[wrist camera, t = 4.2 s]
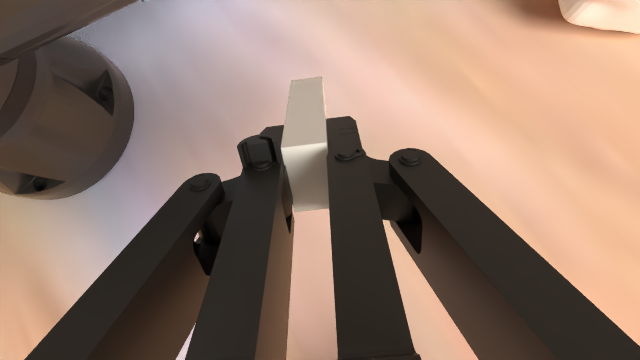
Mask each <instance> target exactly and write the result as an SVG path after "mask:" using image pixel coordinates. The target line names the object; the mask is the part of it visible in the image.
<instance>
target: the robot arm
mask: <svg viewBox="0 0 640 360" xmlns="http://www.w3.org/2000/svg"><path fill="white" fill-rule="evenodd" d="M136 1H138V0H0V192H3V193H6V194H9V195H13V196H18V197H25V198H33V199H41V200H52V199H60V198H65V197H69V196H72V195H75V194H77V193H80V192H82V191H84V190H86V189H87V188H89V187H91V186H92V185H94V184H95V183H97V182H98V181H99V180H100V179H102V178H103V177H104V176H105V175H106V174H107V173H108V172H109V171H110V170H111V169H112V168H113V166H114V165H115V164H116V162H117V161H118V160H119V158H120V157H121V155H122V153H123V152H124V150H125V148H126V145H127V143H128V141H129V138H130V135H131V131H132V127H133V120H134V104H133V97H132V93H131V90H130V87H129V85H128V83H127V81H126V79H125V77H124V75H123V74H122V73H121V71H120V70H119V69H118V68H117V67H116V66H115V65H114V64H113V63H112V62H111V61H109V60H108V59H107V58H105V57H104V56H103V55H101V54H100V53H99V52H97V51H96V50H94V49H93V48H91V47H90V46H88V45H86V44H84V43H82V42H79V41H77V40H74V39H71V38H68V37H65V36H66V35H68V34H70V33H72V32H74V31H76V30H78V29H80V28H82V27H84V26H86V25H88V24H91V23H93V22H95V21H97V20H99V19H101V18H103V17H105V16H107V15H109V14H111V13H113V12H115V11H118V10H120V9H122V8H124V7H126V6H128V5H130V4H132V3H134V2H136ZM148 1H149V0H142V2H144V3H146V2H148ZM237 149H238V152H239V155H240V159H241V162H242V165H243V169H242V173H241V175H240V176H238V177H236V178H233V179H230V180H227V181H223V182H221V179H220V177H219V176H218V175H217V174H213V173H202V174H199V175H195V176H193V177H192V178H190V179H188V180H187V181H185V182H184V183H183V184H182V185H181V186H180V187H179V188H178V189H177V191H176V192H175V193H174V194H173V195H172V196H171V197H170V198H169V199H168V201H167V202H166V203H165V204H164V205H163V206H162V207H161V208H160V209H159V211H158V212H157V213H156V214H155V215H154V216H153V217H152V218H151V219H150V221H149V222H148V223H147V224H146V225H145V226H144V227H143V228H142V229H141V231H140V232H139V233H138V234H137V235H136V236H135V237H134V238H133V239H132V241H131V242H130V243H129V244H128V245H127V246H126V247H125V248H124V249H123V251H122V252H121V253H120V254H119V255H118V256H117V257H116V258H115V259H114V261H113V262H112V263H111V264H110V265H109V266H108V267H107V268H106V269H105V271H104V272H103V273H102V274H101V275H100V276H99V277H98V278H97V279H96V281H95V282H94V283H93V284H92V285H91V286H90V287H89V288H88V289H87V291H86V292H85V293H84V294H83V295H82V296H81V297H80V298H79V299H78V301H77V302H76V303H75V304H74V305H73V306H72V307H71V308H70V309H69V311H68V312H67V313H66V314H65V315H64V316H63V317H62V318H61V319H60V321H59V322H58V323H57V324H56V325H55V326H54V327H53V328H52V329H51V331H50V332H49V333H48V334H47V335H46V336H45V337H44V338H43V339H42V341H41V342H40V343H39V344H38V345H37V346H36V347H35V348H34V349H33V351H32V352H31V353H30V354H29V355H28V356H27V357H26V358H25V359H24V360H175V359H176V358H177V356H178V354H179V352H180V350H181V349H182V347H183V345H184V343H185V341H186V339H187V338H188V336H189V334H190V332H191V330H192V329H193V327H194V325H195V323H196V325H195V328H194V331H193V334H192V338H191V341H190V344H189V348H188V351H187V354H186V358H185V360H286V350H287V334H288V318H289V301H290V285H291V268H292V252H293V236H294V217H293V213H292V204H293V207H294V211H295V212H299V211H308V210H317V209H326V208H329V210H330V227H331V244H332V261H333V278H334V296H335V313H336V330H337V347H338V360H421V357H420V355H419V354H417V353H416V352H415V349H414V346H413V343H412V339H411V335H410V331H409V327H408V323H407V318H406V314H405V310H404V306H403V302H402V298H401V294H400V290H399V286H398V282H397V278H396V274H395V270H394V266H393V262H392V257H391V253H390V249H389V245H388V241H387V237H386V233H385V229H384V225H383V221H382V220H390V224H391V227H392V228H393V230H394V231H395V233H396V234H397V236H398V237H399V239H400V241H401V242H402V244H403V245H404V247H405V248H406V250H407V251H408V253H409V254H410V256H411V257H412V259H413V260H414V262H415V263H416V265H417V266H418V268H419V269H420V271H421V272H422V274H423V276H424V277H425V279H426V280H427V282H428V283H429V285H430V286H431V288H432V289H433V291H434V292H435V294H436V295H437V297H438V298H439V300H440V301H441V303H442V304H443V306H444V307H445V309H446V311H447V312H448V314H449V315H450V317H451V318H452V320H453V321H454V323H455V324H456V326H457V327H458V329H459V330H460V332H461V333H462V335H463V336H464V338H465V339H466V341H467V343H468V344H469V346H470V347H471V349H472V350H473V352H474V353H475V355H476V356H477V358H478V359H479V360H640V346H639V345H638V344H636V343H635V342H634V341H633V340H632V339H631V338H630V337H629V336H628V335H627V334H626V333H624V332H623V331H622V330H621V329H620V328H619V327H618V326H617V325H616V324H615V323H614V322H612V321H611V320H610V319H609V318H608V317H607V316H606V315H605V314H604V313H603V312H602V311H600V310H599V309H598V308H597V307H596V306H595V305H594V304H593V303H592V302H591V301H590V300H588V299H587V298H586V297H585V296H584V295H583V294H582V293H581V292H580V291H579V290H578V289H576V288H575V287H574V286H573V285H572V284H571V283H570V282H569V281H568V280H567V279H565V278H564V277H563V276H562V275H561V274H560V273H559V272H558V271H557V270H556V269H555V268H553V267H552V266H551V265H550V264H549V263H548V262H547V261H546V260H545V259H544V258H543V257H541V256H540V255H539V254H538V253H537V252H536V251H535V250H534V249H533V248H532V247H531V246H529V245H528V244H527V243H526V242H525V241H524V240H523V239H522V238H521V237H520V236H519V235H517V234H516V233H515V232H514V231H513V230H512V229H511V228H510V227H509V226H508V225H506V224H505V223H504V222H503V221H502V220H501V219H500V218H499V217H498V216H497V215H496V214H494V213H493V212H492V211H491V210H490V209H489V208H488V207H487V206H486V205H485V204H484V203H482V202H481V201H480V200H479V199H478V198H477V197H476V196H475V195H474V194H473V193H472V192H470V191H469V190H468V189H467V188H466V187H465V186H464V185H463V184H462V183H461V182H460V181H458V180H457V179H456V178H455V177H454V176H453V175H452V174H451V173H450V172H449V171H448V170H446V169H445V168H444V167H443V166H442V165H441V164H440V163H439V162H438V161H437V160H435V159H434V158H433V157H432V156H431V155H430V154H429V153H427V152H425V151H423V150H419V149H415V148H407V149H401V150H398V151H396V152H394V153H393V154H391V155H390V158H389V161H384V160H376V159H373V158H370V157H368V156H367V155H366V152H365V151H364V149H362V145H361V141H360V137H359V133H358V129H357V125H356V121H355V120H354V119H353V118H351V117H350V116H346V117H338V118H329V119H327V113H326V105H325V97H324V89H323V81H322V77H315V78H308V79H300V80H292V81H291V85H290V91H289V97H288V104H287V110H286V117H285V123H284V125H280V126H272V127H266V128H265V129H264V130H263V131H262V132H261V133H260V135H255V136H251V137H248V138H246V139H244V140H243V141H241V142H240V143H239V144H238V145H237ZM197 233H198V234H199V236H200V237H199V238H198V239H197V241H196V242H194V238H195V236H196V234H197Z"/></svg>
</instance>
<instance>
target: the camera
mask: <svg viewBox="0 0 640 360" xmlns="http://www.w3.org/2000/svg"><path fill="white" fill-rule="evenodd" d="M558 2H559V6H560V10H561V13H562V15H563V17H564V19H565V20H566V21H568V22H570V23H571V24H575V25H580V26H586V27H593V28H595V29H600V30H617V31H624V32H631V33H634V34H640V0H558Z"/></svg>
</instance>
